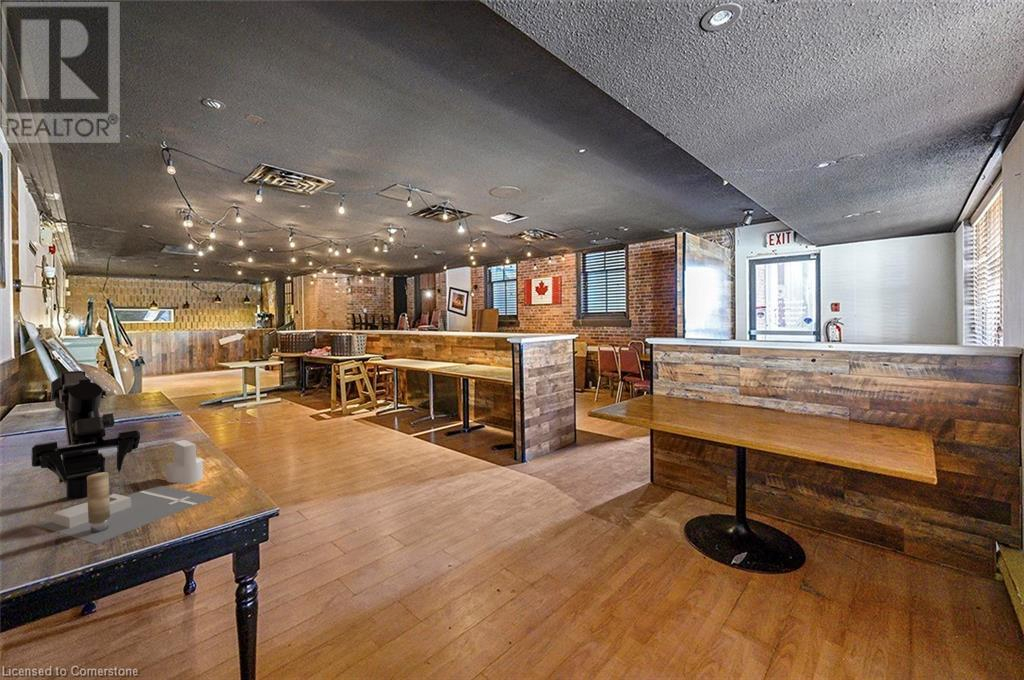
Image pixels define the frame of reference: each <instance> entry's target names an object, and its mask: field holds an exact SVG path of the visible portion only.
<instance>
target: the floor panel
mask: <svg viewBox="0 0 1024 680" xmlns="http://www.w3.org/2000/svg"><path fill="white" fill-rule="evenodd" d="M125 496H126V497H130V498H131V507H130V508H127V509H124V510H121V511H118V512H115V513H112V514H110V518H109V519H108V522H109V528H108V529H107V530H105V531H102V532H98V533H91V528H90V523H89V522H86V523H83V524H80V525H77V526H74V527H72V528H68V527H65V526H62V525H58V524H55V523H53V519H50V520H47V521H44V522H43V521H42V522H41V523H40V522H39V523H38V524H36V526H38V527H41V528H44V529H48V530H50V531H53V532H56V533H60V534H62V535H66V536H69V537H73V538H75V539H78V540H82V541H84V542H88V543H90V544H94V545H97V544H99V543H102V542H105V541H108V540H110V539H113V538H115V537H118V536H120V535H123V534H125V533H128V532H131V531H133V530H136V529H139V528H140V527H143V526H146V525H149V524H152V523H153V522H156V521H159V520H161V519H164V518H166V517H167V518H168V517H169V516H172V515H175V514H178V513H180V512H182V511H184V510H187V509H190V508H192V507H195V506H197V505H200V504H203V503H205V502H208V501H210V500H213V499H215V498H216V497H215V496H211V495H208V494H207V495H206V494H202V493H197V492H192V491H187V490H184V489H179V488H175V487H170V486H165V485H161V484H160V485H157V486H153V487H149V488H147V489H143V490H141V491H137V492H135V493H132V494H128V495H125Z"/></svg>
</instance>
